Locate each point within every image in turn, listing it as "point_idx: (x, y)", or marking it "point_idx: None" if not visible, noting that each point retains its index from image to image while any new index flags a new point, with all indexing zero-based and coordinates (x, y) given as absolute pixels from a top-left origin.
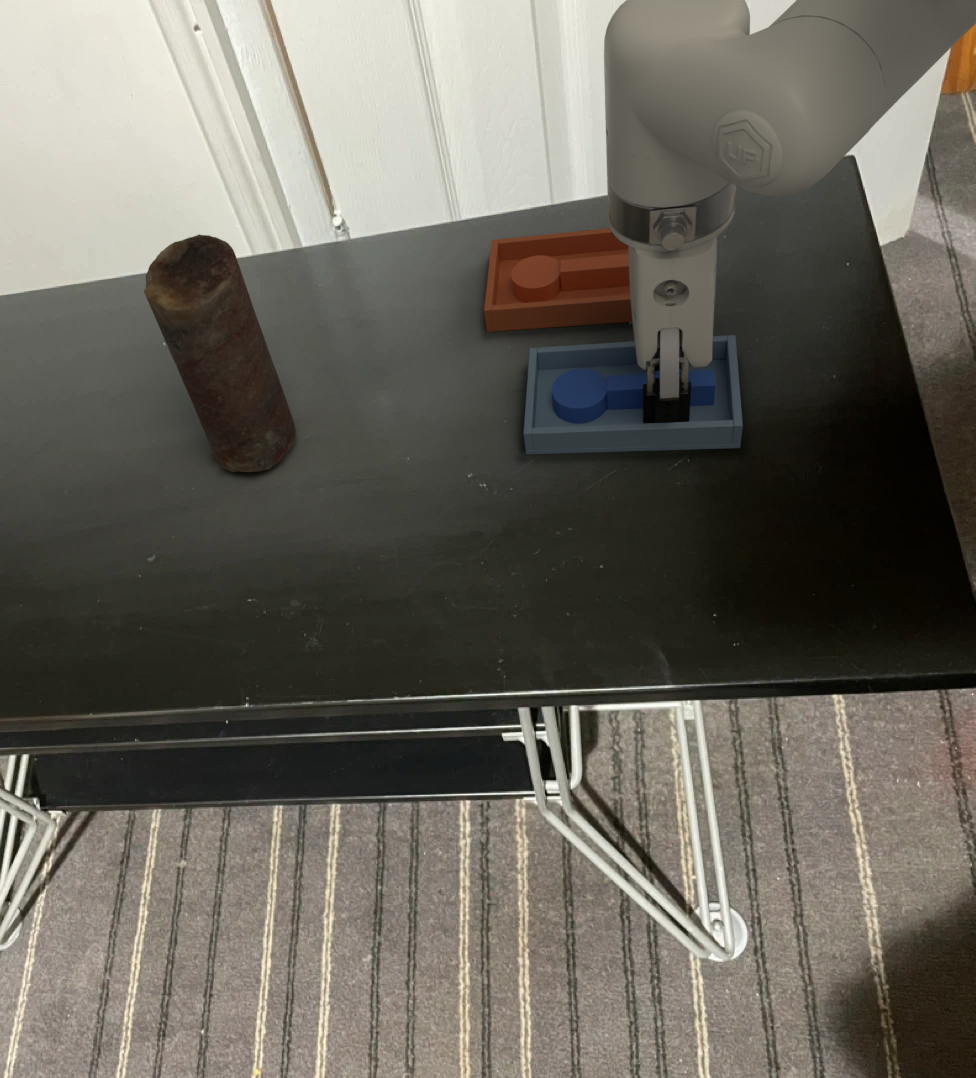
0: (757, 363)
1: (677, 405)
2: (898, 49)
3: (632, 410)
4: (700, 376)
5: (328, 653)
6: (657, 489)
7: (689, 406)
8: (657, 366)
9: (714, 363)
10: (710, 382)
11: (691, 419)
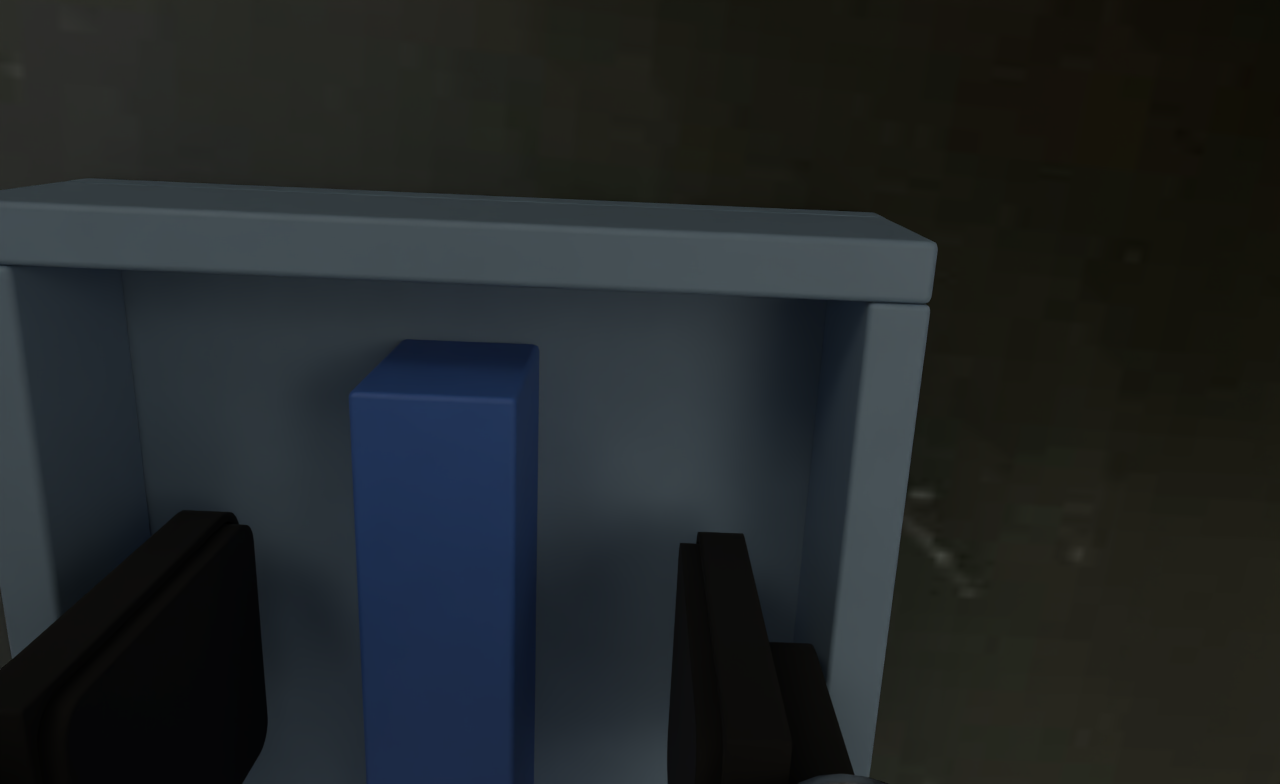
0: (130, 25)
1: (843, 751)
2: None
3: (544, 763)
4: (416, 492)
5: None
6: (1098, 651)
7: (760, 610)
8: (249, 690)
9: (160, 308)
10: (484, 431)
11: (648, 477)
